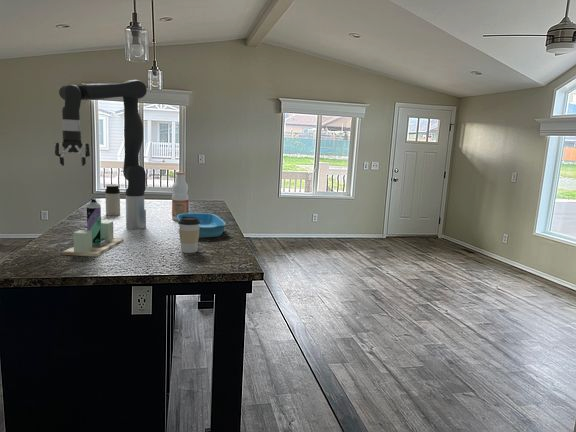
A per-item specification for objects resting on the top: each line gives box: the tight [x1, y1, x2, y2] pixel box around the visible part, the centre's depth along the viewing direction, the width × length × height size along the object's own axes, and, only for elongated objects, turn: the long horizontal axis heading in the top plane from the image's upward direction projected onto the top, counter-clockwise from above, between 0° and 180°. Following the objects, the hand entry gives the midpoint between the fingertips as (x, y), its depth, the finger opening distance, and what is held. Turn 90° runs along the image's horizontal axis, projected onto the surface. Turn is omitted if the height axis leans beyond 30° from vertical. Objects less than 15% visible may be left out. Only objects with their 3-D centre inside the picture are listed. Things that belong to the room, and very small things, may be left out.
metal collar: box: [92, 238, 109, 248], centre depth 184 cm, size 9×9×2 cm
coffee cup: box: [178, 216, 200, 254], centre depth 185 cm, size 9×9×15 cm
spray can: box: [86, 198, 102, 243], centre depth 182 cm, size 6×6×20 cm
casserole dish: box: [177, 212, 227, 239], centre depth 224 cm, size 37×22×7 cm, turn 23°
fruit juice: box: [171, 171, 189, 222], centre depth 250 cm, size 9×9×28 cm
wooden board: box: [62, 237, 125, 258], centre depth 184 cm, size 26×14×1 cm, turn 178°
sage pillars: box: [72, 220, 114, 253], centre depth 183 cm, size 25×5×8 cm, turn 178°
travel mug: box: [105, 183, 121, 217], centre depth 255 cm, size 8×8×18 cm
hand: (73, 165), depth 198 cm, fingers open, 8 cm apart
